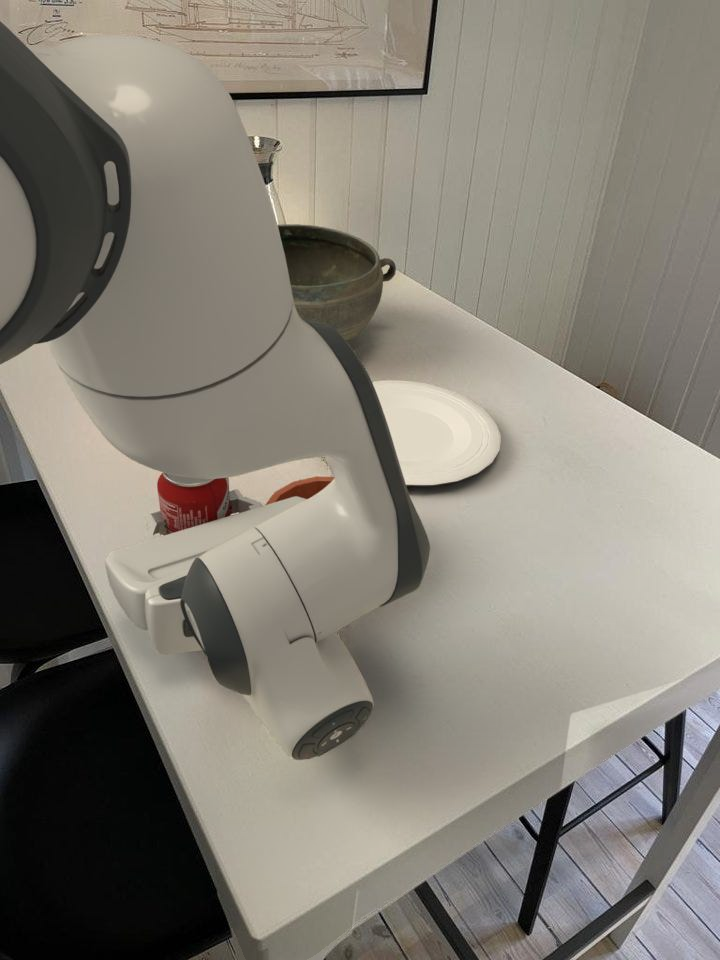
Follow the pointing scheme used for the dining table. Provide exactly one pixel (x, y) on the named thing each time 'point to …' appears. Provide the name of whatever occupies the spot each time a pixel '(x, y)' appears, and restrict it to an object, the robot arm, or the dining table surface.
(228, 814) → the dining table surface
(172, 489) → the soda can
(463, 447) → the plate
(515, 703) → the dining table surface
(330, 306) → the bowl
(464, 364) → the dining table surface
